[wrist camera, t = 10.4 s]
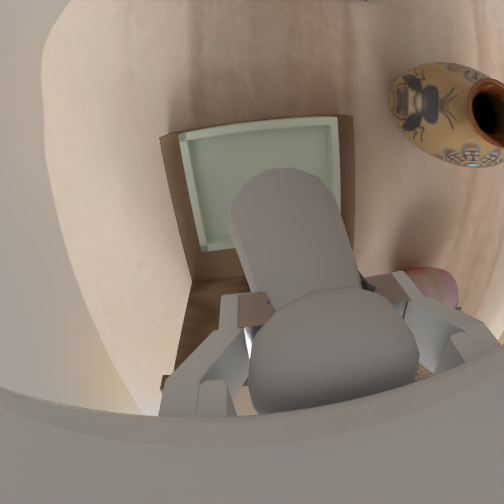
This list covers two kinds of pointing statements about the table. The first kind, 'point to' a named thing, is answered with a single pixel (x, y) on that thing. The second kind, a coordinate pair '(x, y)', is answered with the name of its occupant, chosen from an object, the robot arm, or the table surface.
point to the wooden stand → (227, 260)
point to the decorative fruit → (435, 285)
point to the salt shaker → (312, 300)
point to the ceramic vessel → (451, 113)
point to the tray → (252, 165)
